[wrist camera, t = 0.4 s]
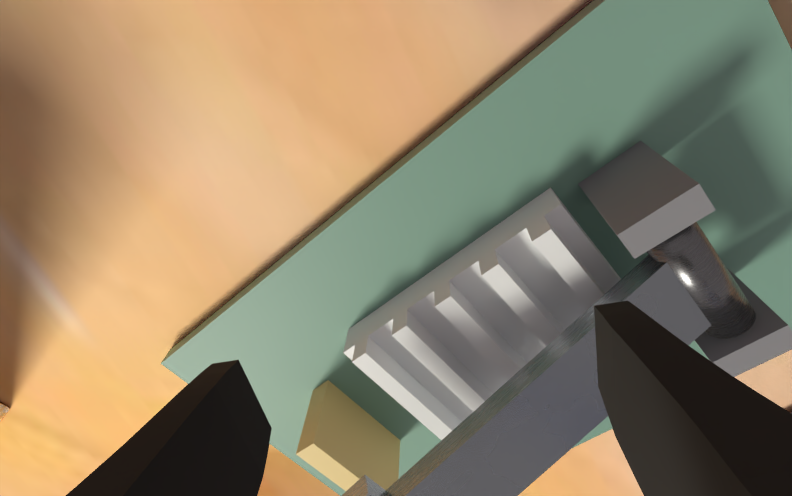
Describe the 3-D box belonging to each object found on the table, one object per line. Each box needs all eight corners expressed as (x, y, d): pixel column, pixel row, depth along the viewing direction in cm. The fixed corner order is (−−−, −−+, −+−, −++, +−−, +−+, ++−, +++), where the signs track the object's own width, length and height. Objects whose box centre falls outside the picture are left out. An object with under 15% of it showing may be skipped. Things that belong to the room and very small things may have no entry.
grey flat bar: (660, 196, 15) (700, 207, 14) (730, 299, 17) (771, 318, 16) (319, 505, 16) (321, 546, 15) (416, 574, 18) (427, 618, 16)
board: (884, 273, 20) (1017, 357, 15) (393, 517, 29) (388, 614, 24) (703, -91, 14) (827, -122, 10) (170, 349, 23) (112, 434, 19)
